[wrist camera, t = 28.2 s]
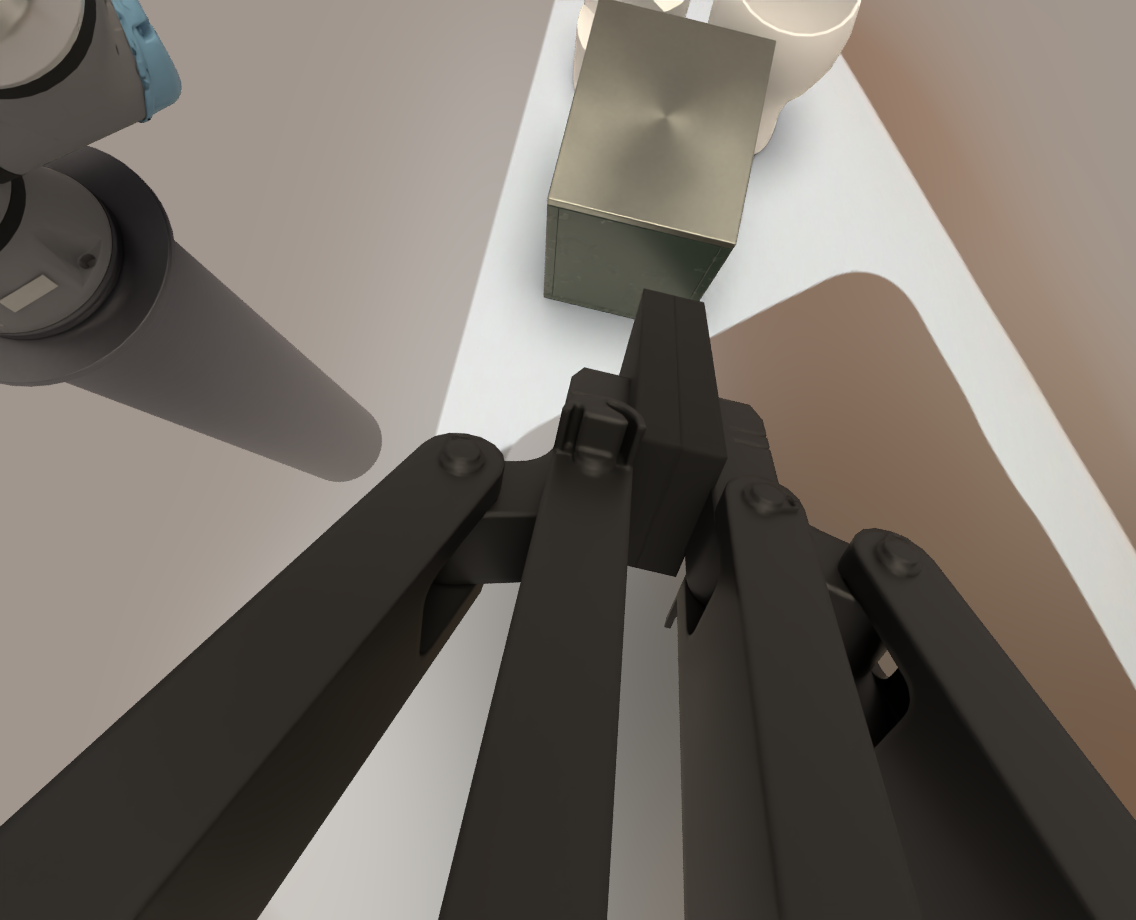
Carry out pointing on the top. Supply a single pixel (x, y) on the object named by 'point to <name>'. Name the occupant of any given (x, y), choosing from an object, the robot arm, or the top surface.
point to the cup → (790, 44)
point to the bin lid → (663, 123)
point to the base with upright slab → (671, 3)
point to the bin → (622, 262)
